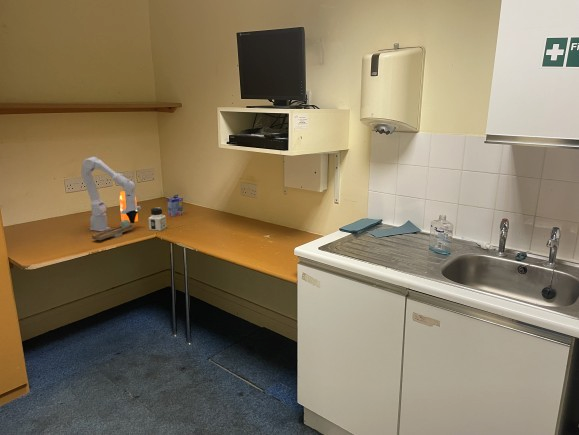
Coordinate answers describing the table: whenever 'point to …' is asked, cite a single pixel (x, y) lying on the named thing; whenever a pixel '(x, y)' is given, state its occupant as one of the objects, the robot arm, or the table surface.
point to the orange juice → (123, 206)
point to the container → (157, 220)
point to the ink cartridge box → (175, 206)
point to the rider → (124, 223)
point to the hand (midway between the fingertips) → (132, 222)
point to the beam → (112, 233)
